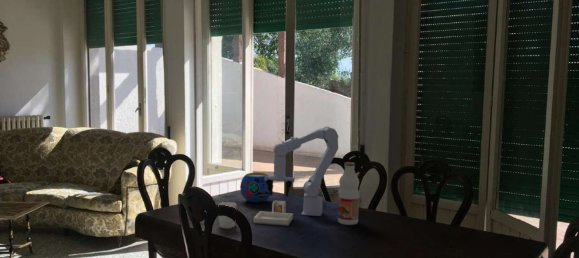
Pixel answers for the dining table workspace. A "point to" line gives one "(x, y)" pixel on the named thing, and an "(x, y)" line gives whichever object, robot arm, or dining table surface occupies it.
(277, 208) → the ball
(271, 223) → the tray
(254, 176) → the ceramic pot
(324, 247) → the dining table surface
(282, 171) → the robot arm
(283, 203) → the silver open box
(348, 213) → the fruit juice
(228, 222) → the white cup
